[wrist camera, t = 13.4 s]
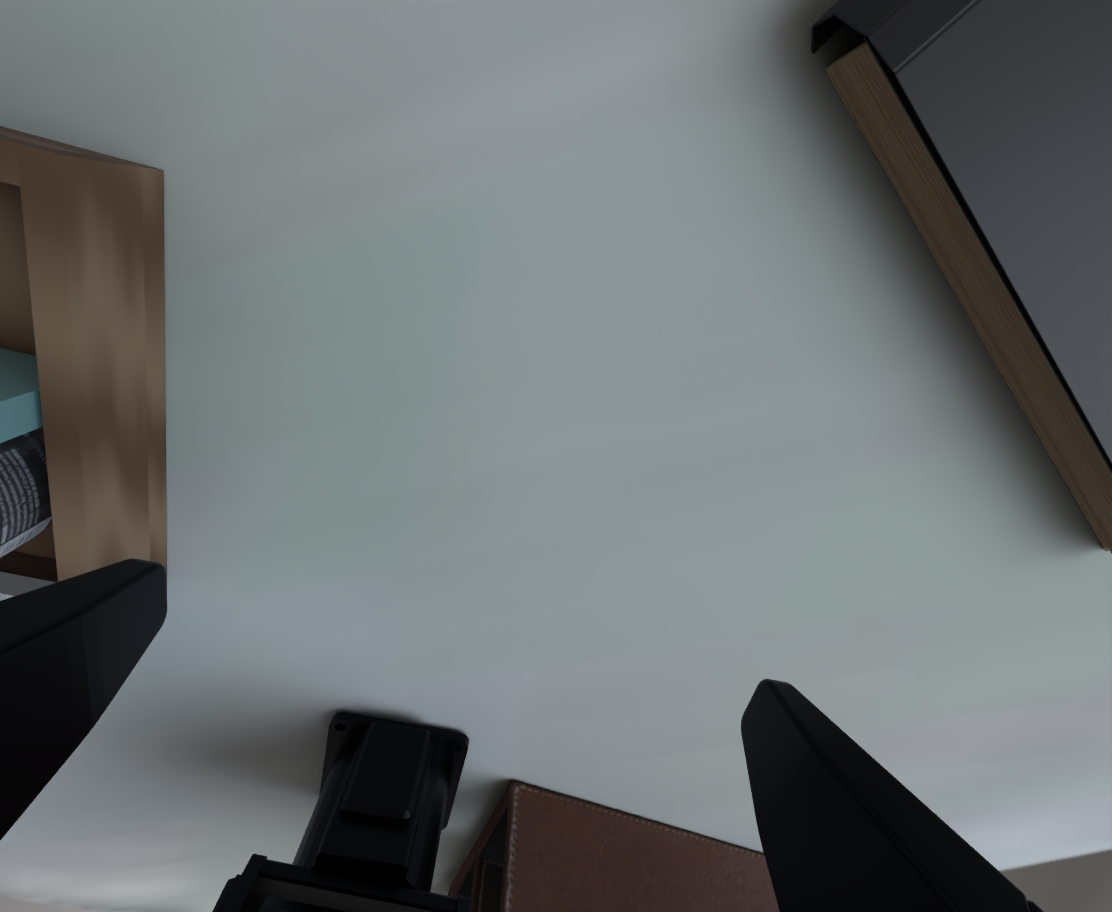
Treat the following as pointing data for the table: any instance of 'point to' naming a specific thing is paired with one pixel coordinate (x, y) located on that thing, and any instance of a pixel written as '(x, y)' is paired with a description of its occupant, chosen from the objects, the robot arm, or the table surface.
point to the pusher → (18, 394)
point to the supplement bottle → (23, 490)
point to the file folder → (1006, 191)
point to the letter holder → (603, 862)
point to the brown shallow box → (87, 349)
